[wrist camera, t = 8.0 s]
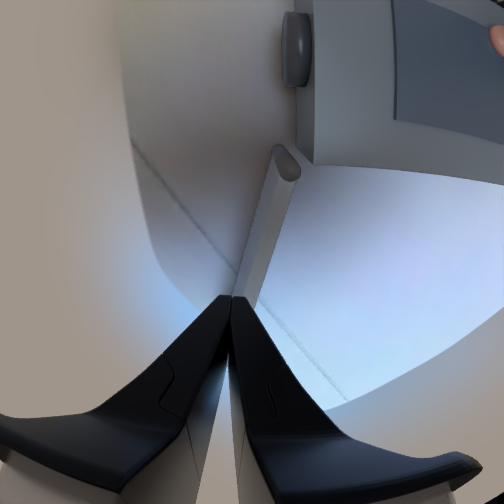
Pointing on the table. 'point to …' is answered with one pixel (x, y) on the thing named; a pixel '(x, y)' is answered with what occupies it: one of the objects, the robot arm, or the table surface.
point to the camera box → (399, 84)
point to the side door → (267, 223)
